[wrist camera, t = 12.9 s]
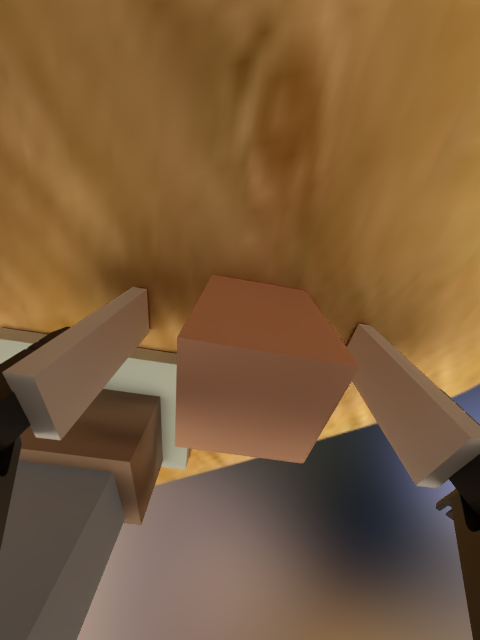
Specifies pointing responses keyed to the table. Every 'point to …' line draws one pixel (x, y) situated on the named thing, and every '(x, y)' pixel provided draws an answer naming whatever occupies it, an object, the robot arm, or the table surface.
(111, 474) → the slate brick
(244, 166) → the table surface
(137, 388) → the plate
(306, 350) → the terracotta brick
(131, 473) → the walnut base
